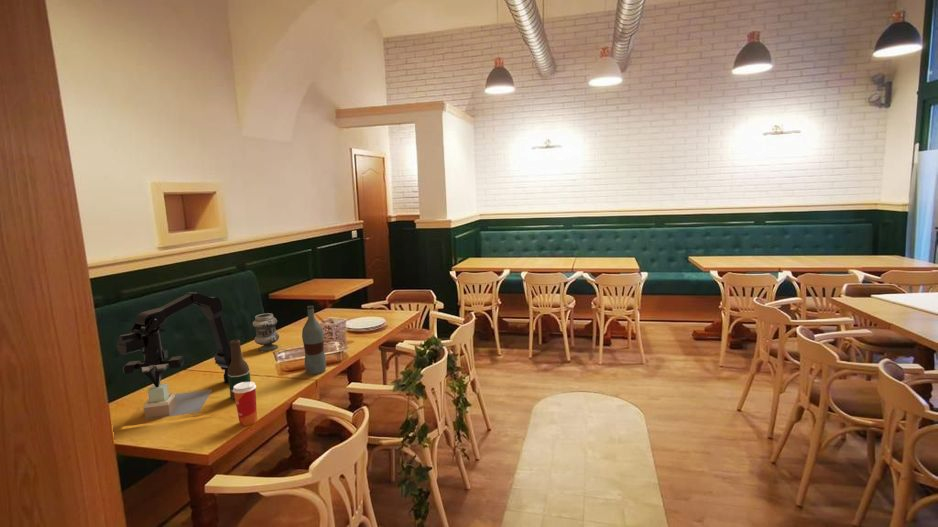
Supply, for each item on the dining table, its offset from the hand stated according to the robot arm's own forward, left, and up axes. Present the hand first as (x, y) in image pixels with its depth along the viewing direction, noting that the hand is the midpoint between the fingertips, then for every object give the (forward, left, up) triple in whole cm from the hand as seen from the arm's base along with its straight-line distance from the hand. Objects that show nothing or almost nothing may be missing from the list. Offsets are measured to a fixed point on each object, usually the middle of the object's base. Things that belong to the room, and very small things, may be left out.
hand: (157, 386), depth 186 cm
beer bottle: (-27, -5, -11) cm, 30 cm away
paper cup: (-33, +18, -11) cm, 39 cm away
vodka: (-55, -26, -11) cm, 62 cm away
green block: (0, 0, -6) cm, 6 cm away
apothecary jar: (-29, -69, -11) cm, 76 cm away
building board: (-5, -6, -11) cm, 13 cm away
